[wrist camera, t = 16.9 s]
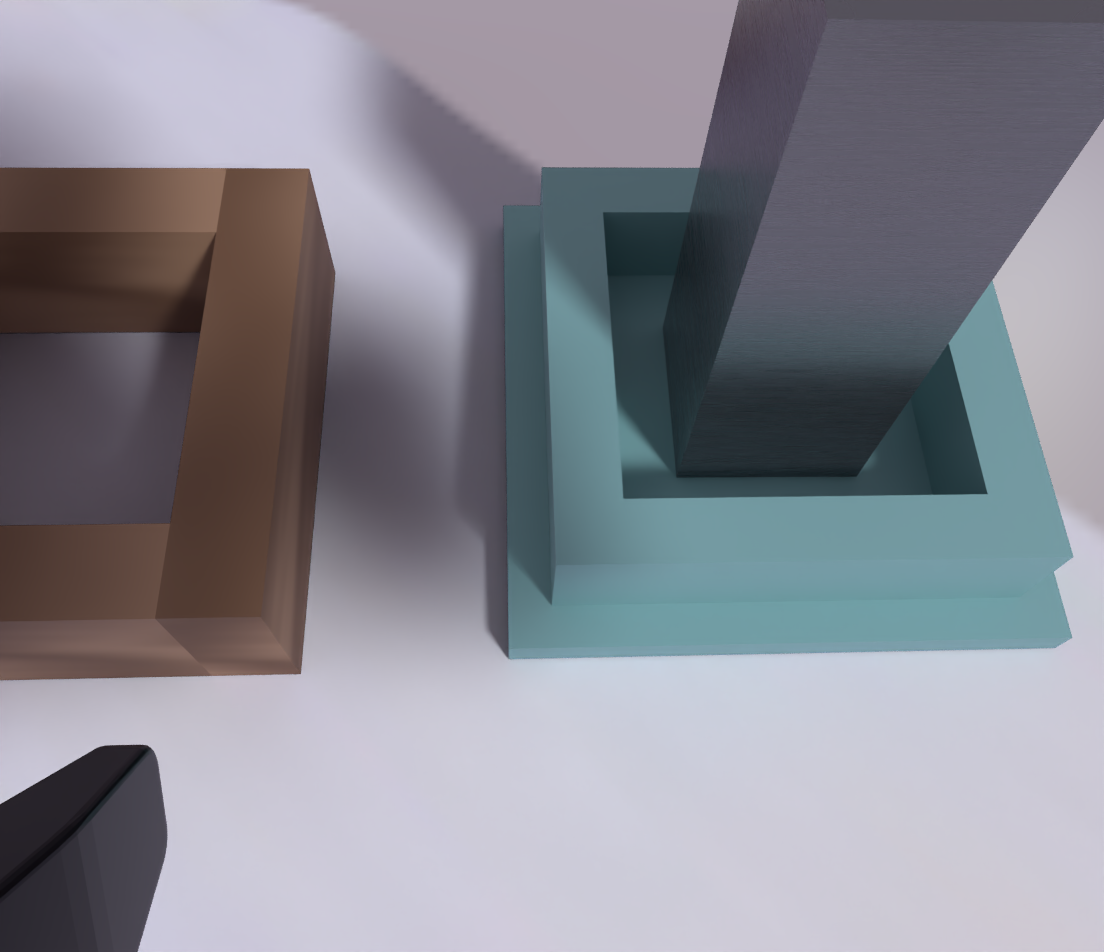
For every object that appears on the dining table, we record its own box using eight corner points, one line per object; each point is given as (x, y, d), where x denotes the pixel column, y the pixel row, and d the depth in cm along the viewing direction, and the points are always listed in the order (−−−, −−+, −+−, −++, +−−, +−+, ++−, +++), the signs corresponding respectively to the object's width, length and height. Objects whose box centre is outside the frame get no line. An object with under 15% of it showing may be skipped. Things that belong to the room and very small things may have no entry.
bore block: (335, 272, 28) (309, 168, 24) (300, 673, 22) (261, 616, 19) (-86, 273, 27) (-176, 166, 24) (-221, 684, 22) (-364, 628, 18)
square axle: (829, 327, 26) (1076, -179, 15) (856, 476, 24) (1169, 23, 13) (662, 327, 26) (782, -187, 15) (676, 477, 24) (828, 19, 13)
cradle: (940, 224, 29) (987, 140, 26) (1055, 648, 23) (1133, 600, 20) (503, 224, 29) (502, 138, 26) (508, 659, 23) (508, 611, 20)
